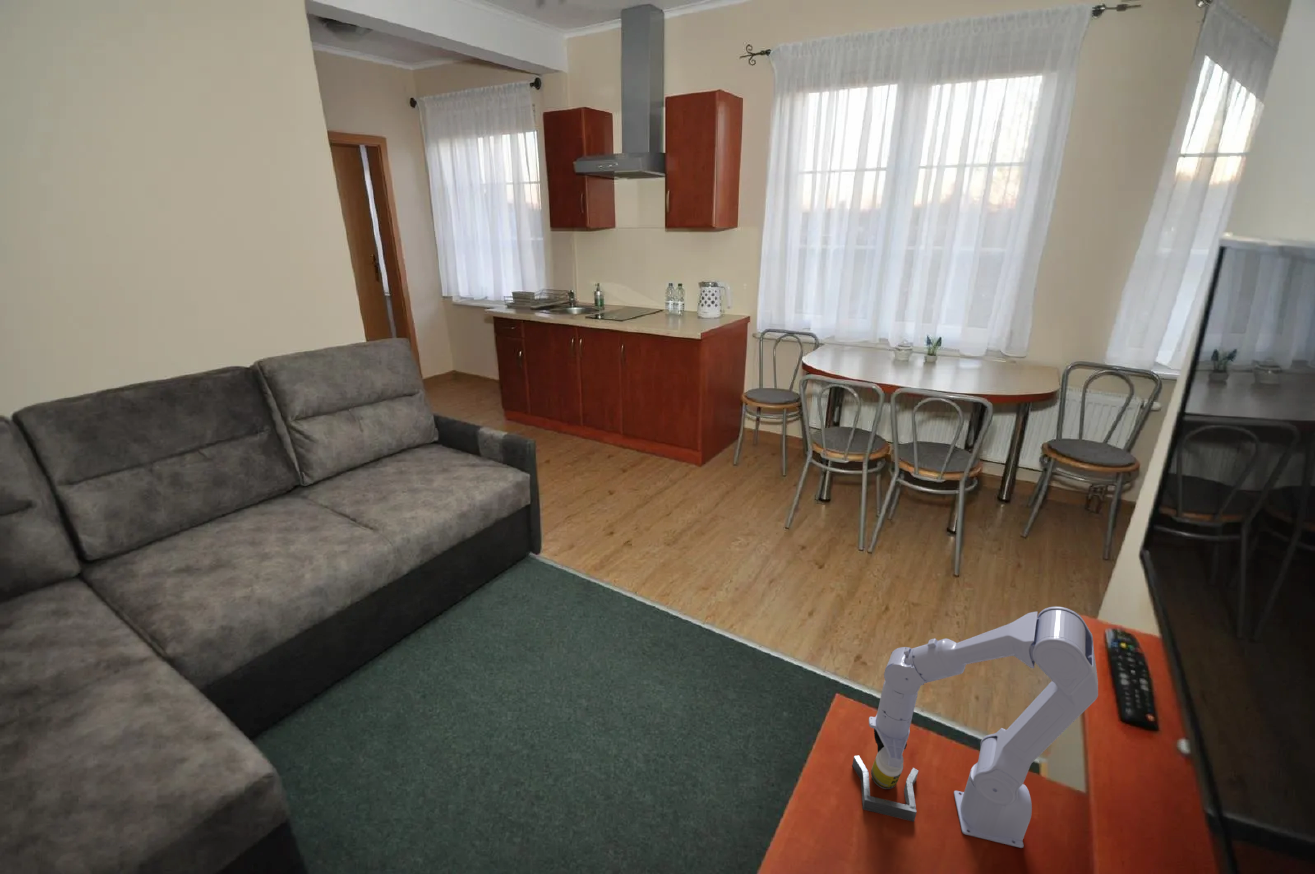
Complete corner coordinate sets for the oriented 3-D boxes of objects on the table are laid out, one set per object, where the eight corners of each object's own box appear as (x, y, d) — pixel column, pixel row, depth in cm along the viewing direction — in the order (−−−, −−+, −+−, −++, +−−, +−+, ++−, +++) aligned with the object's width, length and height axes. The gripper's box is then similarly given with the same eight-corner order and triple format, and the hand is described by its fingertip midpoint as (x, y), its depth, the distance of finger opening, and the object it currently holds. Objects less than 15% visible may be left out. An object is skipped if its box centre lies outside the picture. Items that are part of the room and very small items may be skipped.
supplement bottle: (891, 795, 107) (899, 777, 102) (866, 779, 109) (873, 760, 104) (901, 772, 110) (909, 753, 104) (876, 757, 112) (883, 737, 107)
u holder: (915, 777, 110) (918, 768, 109) (923, 824, 102) (925, 814, 101) (852, 763, 113) (853, 754, 112) (854, 807, 105) (856, 797, 104)
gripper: (870, 673, 113) (860, 724, 118) (875, 735, 100) (864, 789, 105) (909, 681, 111) (896, 732, 117) (919, 745, 99) (905, 799, 104)
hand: (883, 760), depth 111 cm, fingers closed, pressing on supplement bottle
